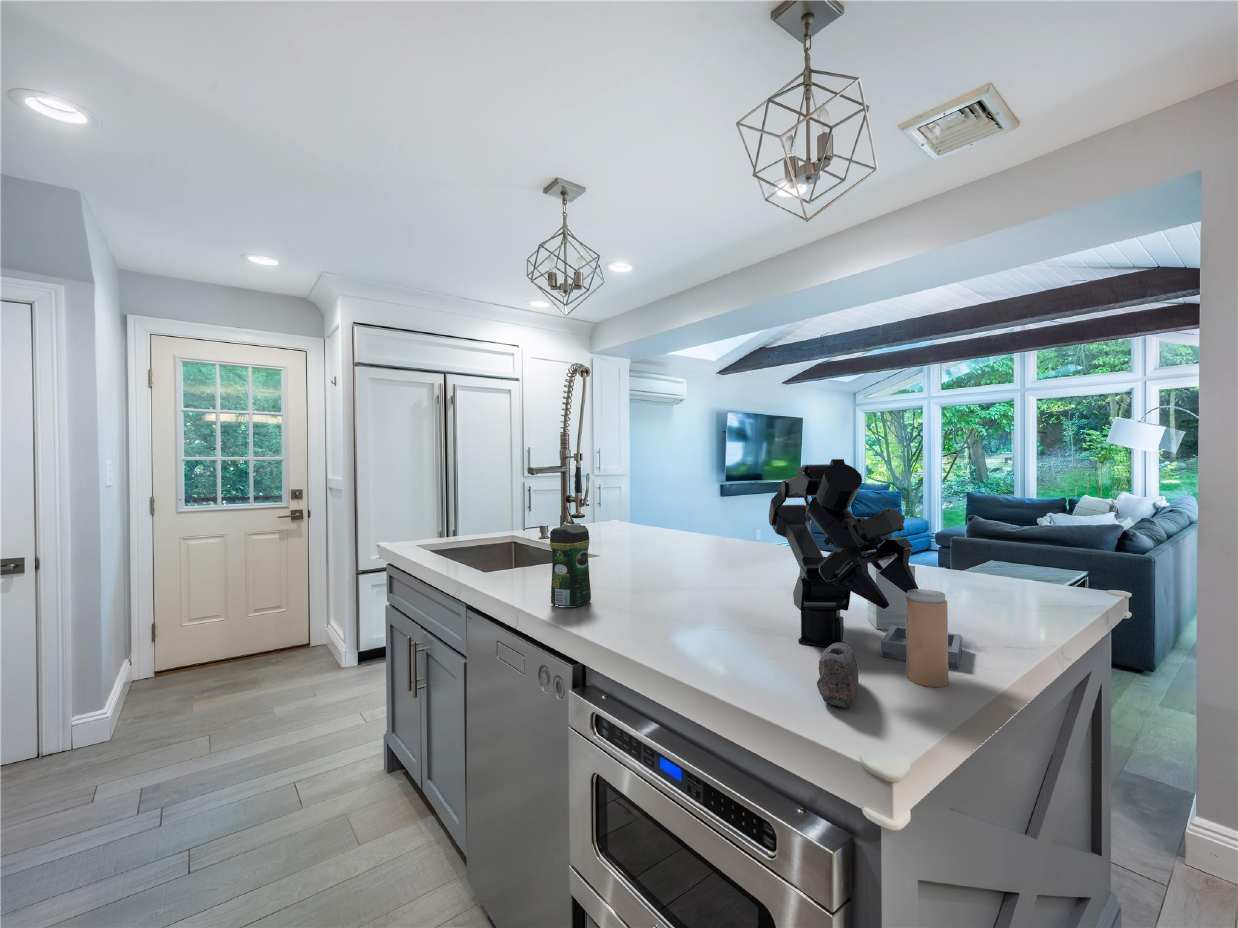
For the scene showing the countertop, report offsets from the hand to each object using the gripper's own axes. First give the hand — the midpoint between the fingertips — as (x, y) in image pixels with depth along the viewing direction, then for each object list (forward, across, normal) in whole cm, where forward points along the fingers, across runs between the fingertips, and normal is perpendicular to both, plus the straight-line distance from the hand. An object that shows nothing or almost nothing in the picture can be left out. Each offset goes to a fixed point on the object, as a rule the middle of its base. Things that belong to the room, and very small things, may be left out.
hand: (903, 602), depth 86 cm
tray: (+6, +12, +10) cm, 16 cm away
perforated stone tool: (+7, -14, +9) cm, 18 cm away
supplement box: (-3, +23, +19) cm, 30 cm away
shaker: (+10, 0, +5) cm, 11 cm away
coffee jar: (-41, -19, +57) cm, 73 cm away
